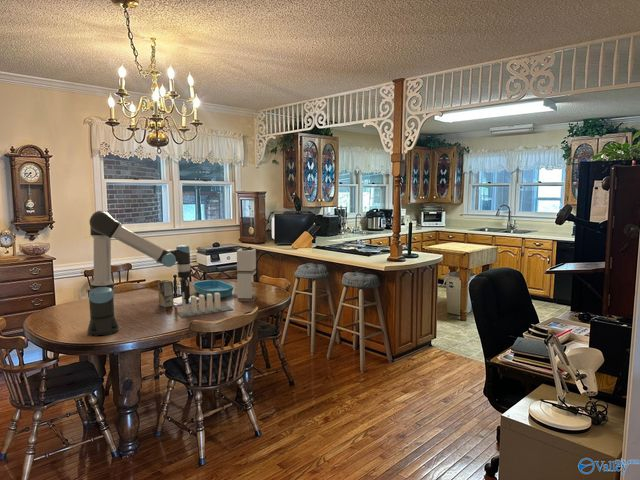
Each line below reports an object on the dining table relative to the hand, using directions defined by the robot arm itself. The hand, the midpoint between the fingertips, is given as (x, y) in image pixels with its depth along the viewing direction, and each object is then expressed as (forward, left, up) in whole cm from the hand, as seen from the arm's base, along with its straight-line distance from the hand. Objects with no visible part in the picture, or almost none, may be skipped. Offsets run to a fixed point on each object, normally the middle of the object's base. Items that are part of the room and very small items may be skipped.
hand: (186, 307), depth 260 cm
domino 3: (+10, 0, -4) cm, 10 cm away
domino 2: (+5, 0, -4) cm, 6 cm away
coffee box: (-6, +28, -4) cm, 29 cm away
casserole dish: (+30, +42, -5) cm, 52 cm away
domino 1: (0, 0, 0) cm, 0 cm away
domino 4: (+15, 0, -4) cm, 15 cm away
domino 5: (+20, 0, -4) cm, 20 cm away
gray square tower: (+46, +15, -4) cm, 48 cm away
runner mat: (+12, 0, -4) cm, 13 cm away
